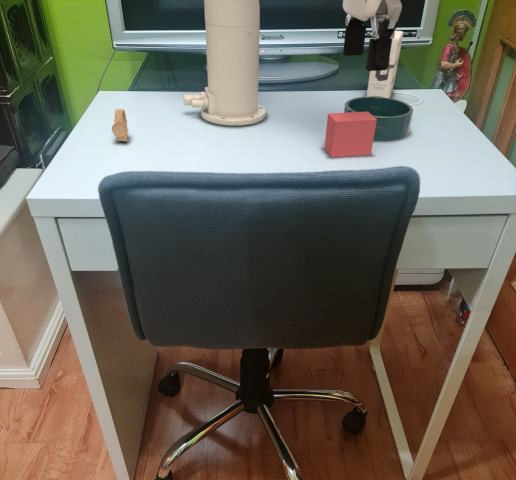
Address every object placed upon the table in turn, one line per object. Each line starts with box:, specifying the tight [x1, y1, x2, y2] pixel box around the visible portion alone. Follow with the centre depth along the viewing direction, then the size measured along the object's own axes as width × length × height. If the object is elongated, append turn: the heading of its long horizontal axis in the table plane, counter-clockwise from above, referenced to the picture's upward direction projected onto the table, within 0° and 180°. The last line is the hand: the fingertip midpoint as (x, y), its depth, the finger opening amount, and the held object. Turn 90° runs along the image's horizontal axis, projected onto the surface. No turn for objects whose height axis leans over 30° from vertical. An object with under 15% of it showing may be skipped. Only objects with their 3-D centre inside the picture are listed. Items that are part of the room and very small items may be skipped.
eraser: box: [323, 112, 377, 158], centre depth 84 cm, size 7×4×6 cm, turn 102°
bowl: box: [343, 96, 414, 142], centre depth 94 cm, size 12×12×4 cm
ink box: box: [366, 30, 404, 98], centre depth 107 cm, size 8×5×12 cm, turn 162°
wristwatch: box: [111, 108, 129, 142], centre depth 86 cm, size 3×5×5 cm, turn 4°
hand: (364, 62), depth 77 cm, fingers open, 9 cm apart
